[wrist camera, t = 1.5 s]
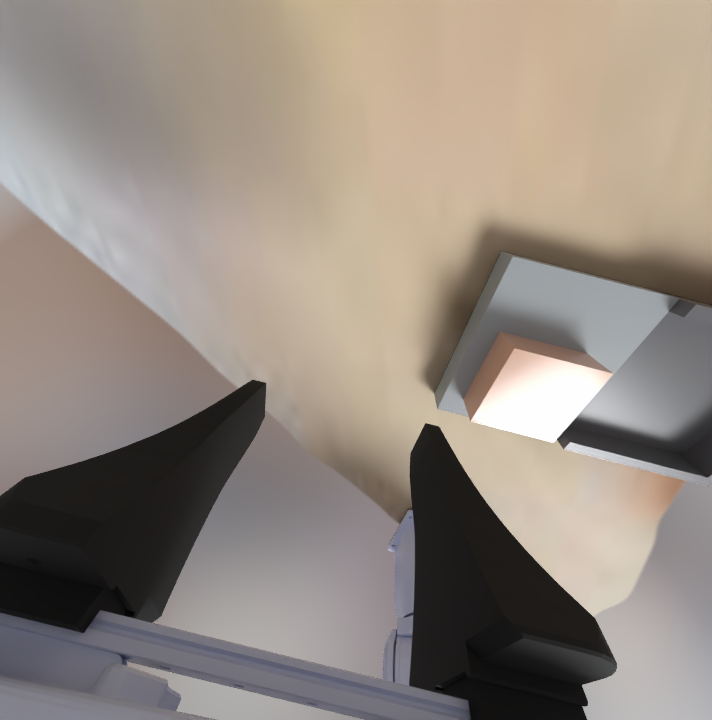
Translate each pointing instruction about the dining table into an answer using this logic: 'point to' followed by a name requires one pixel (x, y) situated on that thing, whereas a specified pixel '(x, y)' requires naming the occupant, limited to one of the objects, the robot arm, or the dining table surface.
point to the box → (657, 402)
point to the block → (533, 387)
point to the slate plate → (551, 319)
